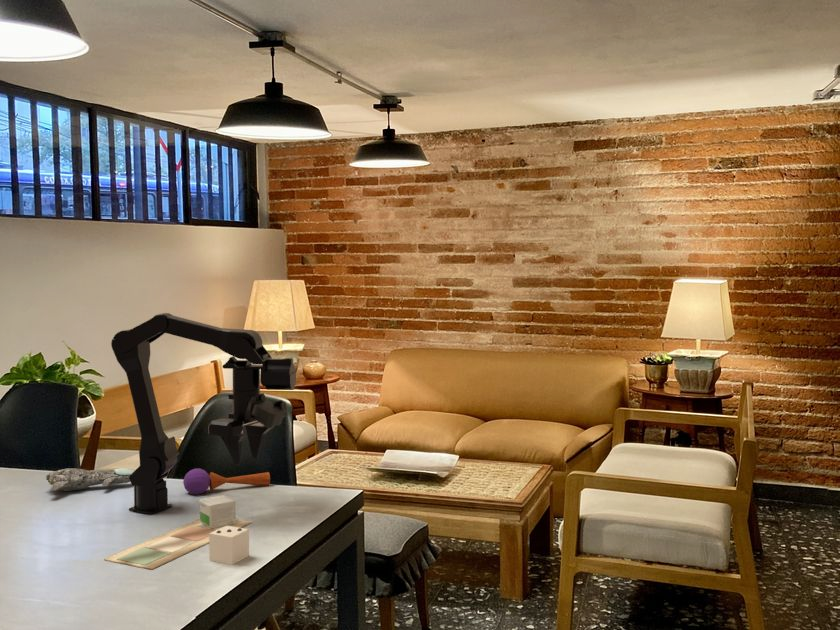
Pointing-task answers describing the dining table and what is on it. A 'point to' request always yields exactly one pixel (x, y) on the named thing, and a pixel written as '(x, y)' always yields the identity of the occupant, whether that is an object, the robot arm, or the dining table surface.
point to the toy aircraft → (86, 478)
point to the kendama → (219, 480)
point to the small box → (217, 511)
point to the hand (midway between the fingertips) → (246, 461)
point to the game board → (168, 545)
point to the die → (229, 544)
